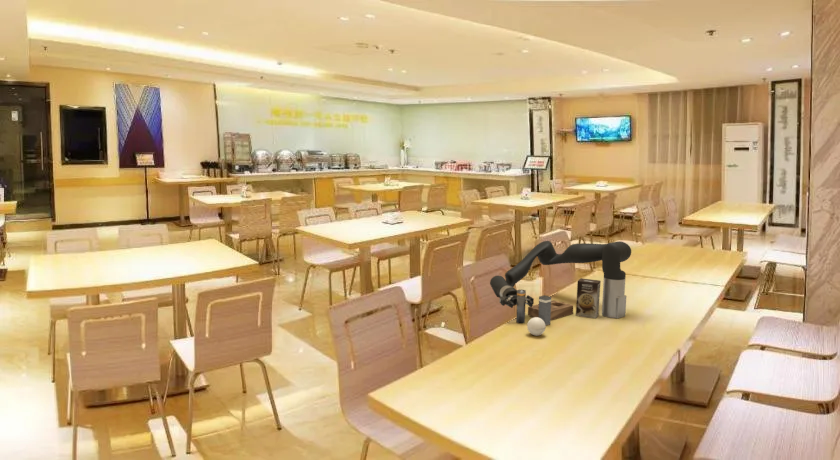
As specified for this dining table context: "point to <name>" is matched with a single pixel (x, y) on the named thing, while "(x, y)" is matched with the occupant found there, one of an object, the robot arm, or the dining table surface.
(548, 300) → the square bit
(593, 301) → the coffee box
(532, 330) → the seamed sphere
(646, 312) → the dining table surface
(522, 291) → the cylinder
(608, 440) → the dining table surface
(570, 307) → the block
